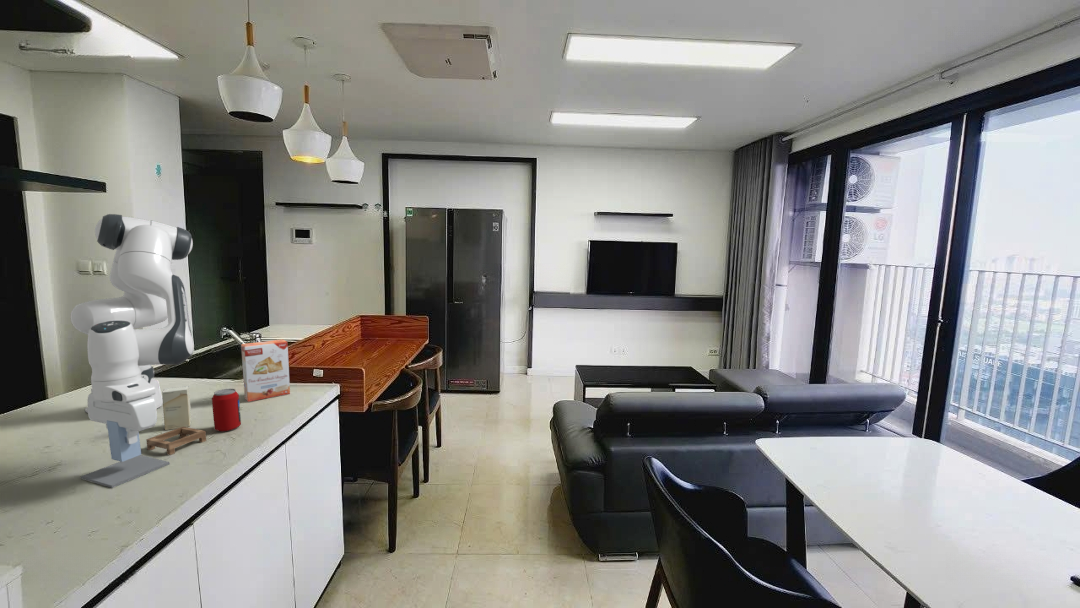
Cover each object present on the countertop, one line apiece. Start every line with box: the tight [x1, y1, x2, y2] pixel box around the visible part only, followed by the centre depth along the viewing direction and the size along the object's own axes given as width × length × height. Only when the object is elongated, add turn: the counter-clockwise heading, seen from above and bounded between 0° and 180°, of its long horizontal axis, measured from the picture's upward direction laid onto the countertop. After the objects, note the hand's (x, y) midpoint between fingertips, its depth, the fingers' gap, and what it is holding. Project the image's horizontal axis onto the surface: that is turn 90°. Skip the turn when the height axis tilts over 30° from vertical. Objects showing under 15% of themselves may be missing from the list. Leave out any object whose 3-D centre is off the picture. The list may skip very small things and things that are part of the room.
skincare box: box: [161, 385, 192, 431], centre depth 136 cm, size 6×4×12 cm
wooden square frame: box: [145, 426, 207, 456], centre depth 123 cm, size 9×9×3 cm
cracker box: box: [240, 339, 291, 403], centre depth 163 cm, size 14×6×21 cm, turn 134°
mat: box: [80, 454, 170, 489], centre depth 109 cm, size 12×12×1 cm
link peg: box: [107, 420, 142, 462], centre depth 108 cm, size 4×4×10 cm
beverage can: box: [211, 388, 242, 433], centre depth 134 cm, size 7×7×12 cm
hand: (124, 441), depth 108 cm, fingers closed on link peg, 4 cm apart
